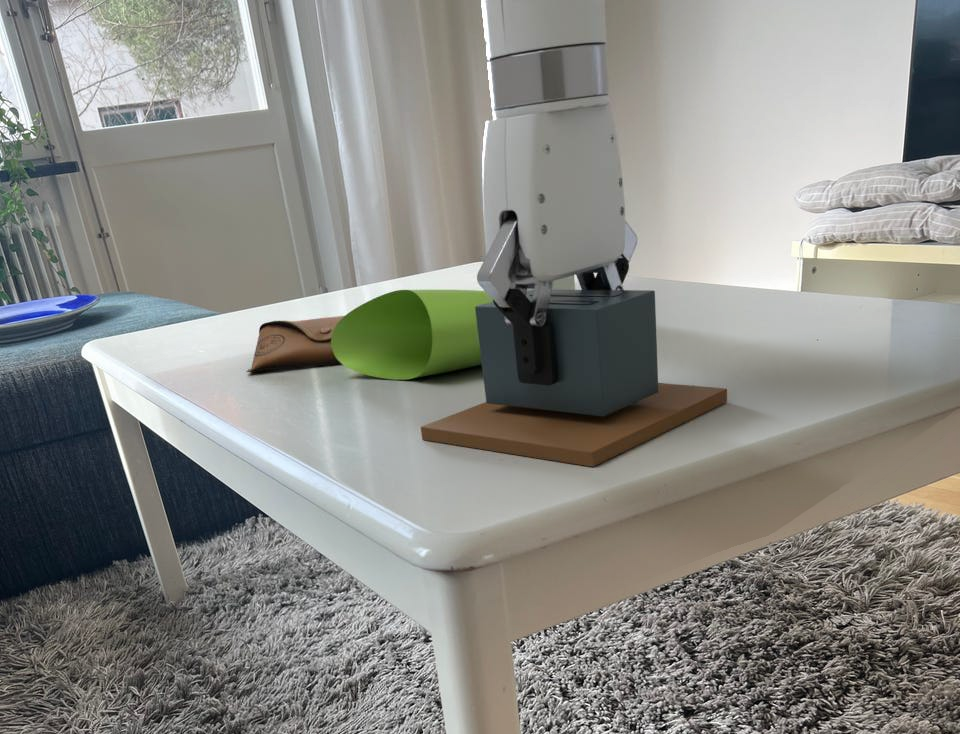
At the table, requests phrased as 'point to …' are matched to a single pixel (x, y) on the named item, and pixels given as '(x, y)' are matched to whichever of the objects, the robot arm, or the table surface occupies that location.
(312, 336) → the sunglasses case
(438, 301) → the green curved sheet
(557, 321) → the toaster
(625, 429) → the mat
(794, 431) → the table surface
